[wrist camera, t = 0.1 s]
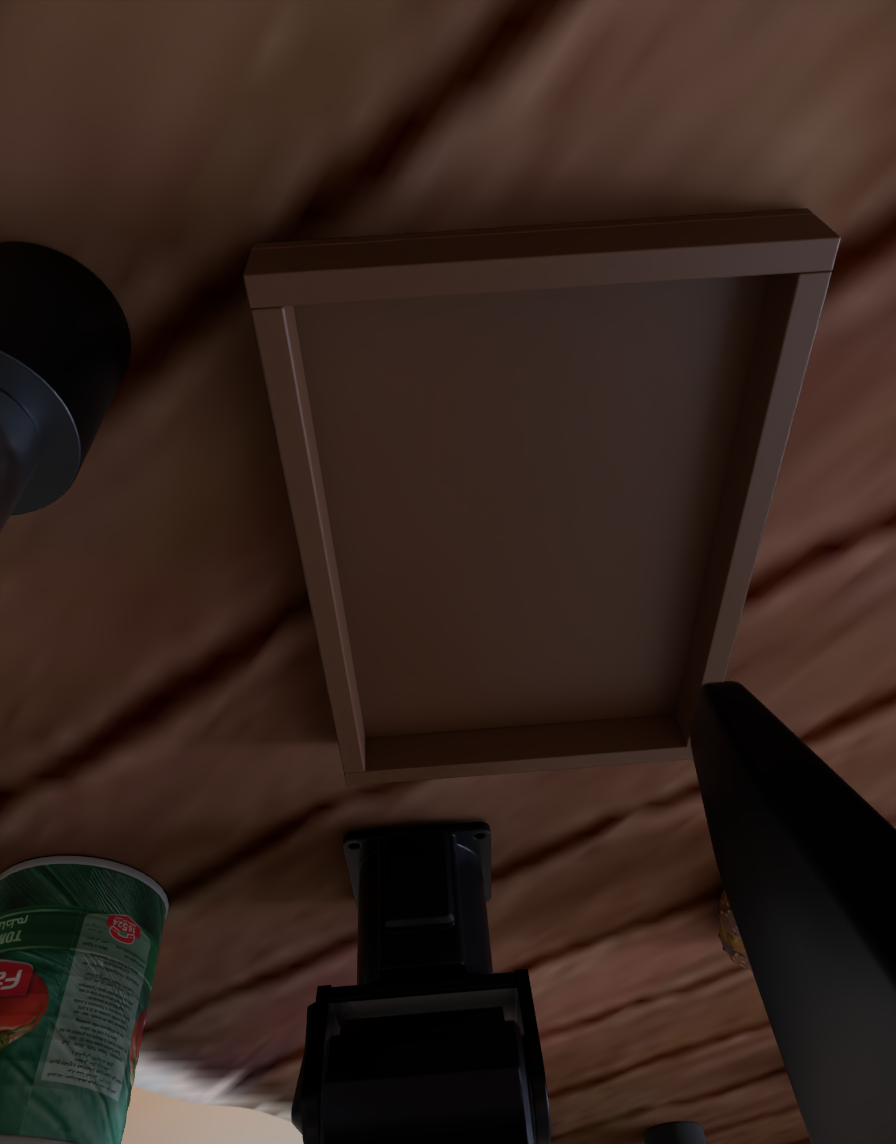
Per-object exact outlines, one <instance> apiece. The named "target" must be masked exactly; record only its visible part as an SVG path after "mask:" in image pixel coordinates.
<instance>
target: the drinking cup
mask: <svg viewBox="0 0 896 1144" xmlns="http://www.w3.org/2000/svg"><path fill="white" fill-rule="evenodd" d="M644 1143H645V1144H707V1141H706V1138H705V1135H704V1132H703V1129H702V1127H701V1126H700V1125H699V1124H696V1123H690V1122H678V1123H670V1124H664V1125H660V1126H657V1127H654V1128H652V1129H650V1130H648V1131H646V1132H645V1134H644Z"/></svg>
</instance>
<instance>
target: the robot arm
mask: <svg viewBox="0 0 896 1144" xmlns="http://www.w3.org/2000/svg"><path fill="white" fill-rule="evenodd" d="M690 744H691V749H692V754H693V759H694V763H695V768H696V772H697V777H698V781H699V786H700V791H701V795H702V800H703V804H704V809H705V814H706V818H707V823H708V827H709V832H710V836H711V841H712V846H713V850H714V854H715V858H716V863H717V867H718V870H719V873H720V877H721V880H722V883H723V886H724V889H725V892H726V895H727V898H728V901H729V904H730V907H731V910H732V913H733V916H734V919H735V922H736V924H737V927H738V930H739V933H740V936H741V939H742V942H743V945H744V948H745V951H746V954H747V957H748V959H749V962H750V965H751V968H752V971H753V974H754V977H755V980H756V983H757V986H758V989H759V992H760V995H761V997H762V1000H763V1003H764V1006H765V1009H766V1012H767V1015H768V1018H769V1021H770V1024H771V1027H772V1030H773V1033H774V1035H775V1038H776V1041H777V1044H778V1047H779V1050H780V1053H781V1056H782V1059H783V1062H784V1065H785V1068H786V1071H787V1073H788V1076H789V1079H790V1082H791V1085H792V1088H793V1091H794V1094H795V1097H796V1100H797V1103H798V1106H799V1109H800V1111H801V1114H802V1117H803V1120H804V1123H805V1126H806V1129H807V1132H808V1135H809V1138H810V1141H811V1144H896V829H895V828H894V827H893V826H892V825H891V824H890V823H889V822H888V821H886V820H885V819H884V818H883V817H882V816H881V815H880V814H879V813H878V812H877V811H876V810H875V809H874V808H873V807H872V806H871V805H869V804H868V803H867V802H866V801H865V800H864V799H863V798H862V797H861V796H860V795H859V794H858V793H857V792H856V791H855V790H854V789H852V788H851V787H850V786H849V785H848V784H847V783H846V782H845V781H844V780H843V779H842V778H841V777H840V776H839V775H838V774H836V773H835V772H834V771H833V770H832V769H831V768H830V767H829V766H828V765H827V764H826V763H825V762H824V761H823V760H822V759H821V758H819V757H818V756H817V755H816V754H815V753H814V752H813V751H812V750H811V749H810V748H809V747H808V746H807V745H806V744H805V743H804V742H802V741H801V740H800V739H799V738H798V737H797V736H796V735H795V734H794V733H793V732H792V731H791V730H790V729H789V728H788V727H787V726H785V725H784V724H783V723H782V722H781V721H780V720H779V719H778V718H777V717H776V716H775V715H774V714H773V713H772V712H771V711H769V710H768V709H767V708H766V707H765V706H764V705H763V704H762V703H761V702H760V701H759V700H758V699H757V698H756V697H755V696H754V695H752V694H751V693H750V692H749V691H748V690H747V689H746V688H745V687H744V686H743V685H741V684H740V683H738V682H735V681H724V682H711V683H705V684H703V685H702V686H701V687H700V689H699V692H698V696H697V700H696V705H695V709H694V713H693V717H692V721H691V726H690ZM343 849H344V853H345V857H346V862H347V866H348V871H349V875H350V879H351V884H352V888H353V893H354V897H355V902H356V906H357V909H358V954H357V985H352V986H341V987H332V986H331V985H324V986H318V988H317V996H316V1002H315V1003H313V1004H311V1005H310V1006H308V1009H307V1026H306V1041H305V1050H304V1055H303V1060H302V1065H301V1069H300V1074H299V1078H298V1082H297V1087H296V1091H295V1096H294V1100H293V1105H292V1114H291V1116H292V1123H293V1125H294V1126H295V1127H296V1128H297V1129H298V1130H299V1131H300V1132H301V1134H302V1135H303V1142H304V1144H551V1128H550V1115H549V1104H548V1095H547V1086H546V1079H545V1071H544V1064H543V1058H542V1052H541V1046H540V1040H539V1034H538V1028H537V1022H536V1016H535V1010H534V1004H533V998H532V992H531V986H530V980H529V974H528V969H527V968H526V969H515V972H507V973H495V974H493V967H492V958H491V948H490V938H489V929H488V919H487V909H486V902H487V901H489V900H490V899H491V835H490V827H489V825H488V824H487V823H484V822H470V823H457V824H445V825H432V826H419V827H407V828H394V829H381V830H369V831H356V832H349V833H347V834H345V836H344V838H343Z"/></svg>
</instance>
